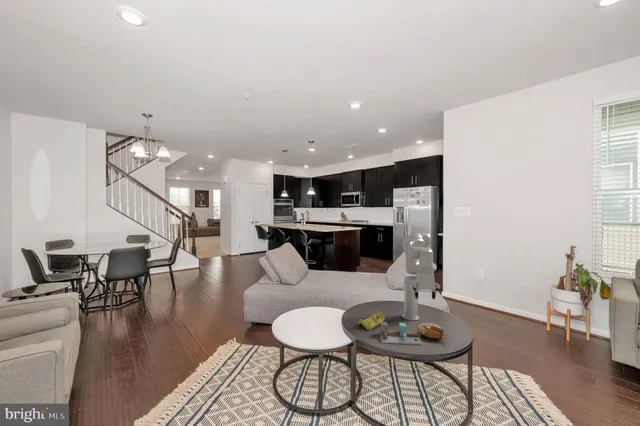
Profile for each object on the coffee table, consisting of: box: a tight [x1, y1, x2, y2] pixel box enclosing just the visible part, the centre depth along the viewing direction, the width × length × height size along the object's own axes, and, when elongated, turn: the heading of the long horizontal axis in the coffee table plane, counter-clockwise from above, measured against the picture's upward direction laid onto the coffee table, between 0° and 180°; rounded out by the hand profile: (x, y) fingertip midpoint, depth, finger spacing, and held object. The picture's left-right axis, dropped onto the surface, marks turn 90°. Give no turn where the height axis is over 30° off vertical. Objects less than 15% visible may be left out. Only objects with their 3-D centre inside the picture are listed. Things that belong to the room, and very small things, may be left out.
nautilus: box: [415, 322, 450, 344], centre depth 173 cm, size 8×22×15 cm
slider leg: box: [398, 322, 408, 339], centre depth 172 cm, size 11×4×8 cm, turn 176°
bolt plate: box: [379, 335, 424, 346], centre depth 169 cm, size 7×25×1 cm, turn 86°
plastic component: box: [357, 310, 386, 331], centre depth 193 cm, size 20×7×10 cm
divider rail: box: [379, 321, 421, 339], centre depth 172 cm, size 11×25×8 cm, turn 86°
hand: (425, 298), depth 162 cm, fingers open, 9 cm apart
